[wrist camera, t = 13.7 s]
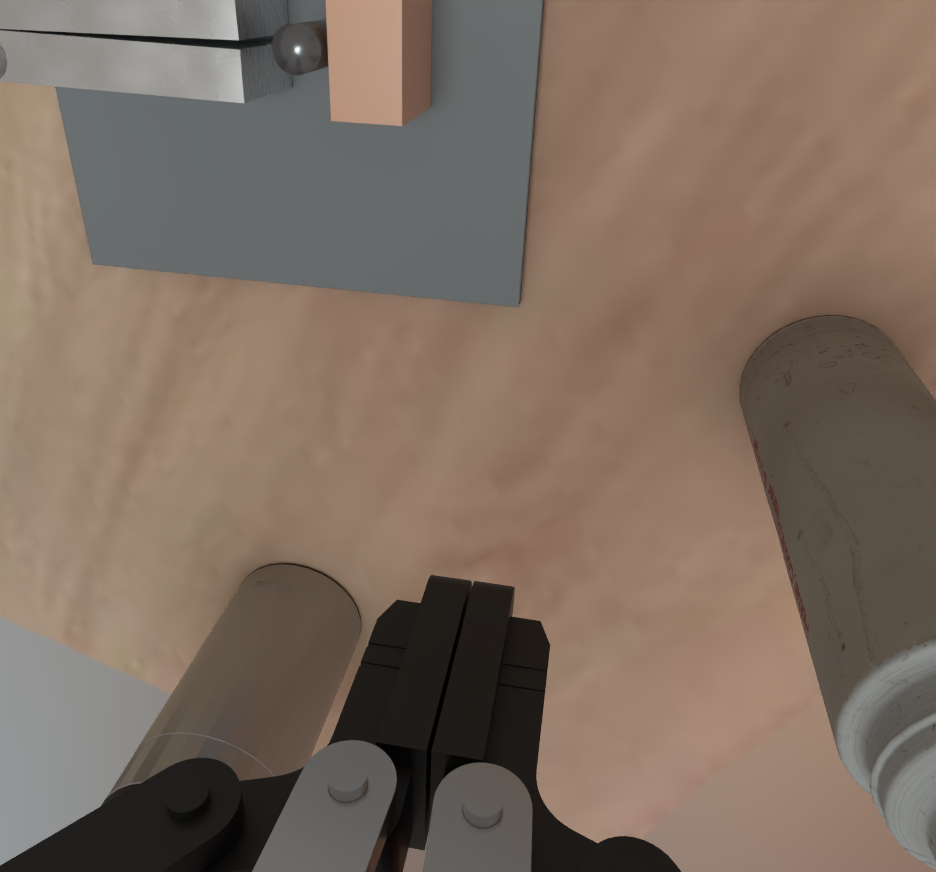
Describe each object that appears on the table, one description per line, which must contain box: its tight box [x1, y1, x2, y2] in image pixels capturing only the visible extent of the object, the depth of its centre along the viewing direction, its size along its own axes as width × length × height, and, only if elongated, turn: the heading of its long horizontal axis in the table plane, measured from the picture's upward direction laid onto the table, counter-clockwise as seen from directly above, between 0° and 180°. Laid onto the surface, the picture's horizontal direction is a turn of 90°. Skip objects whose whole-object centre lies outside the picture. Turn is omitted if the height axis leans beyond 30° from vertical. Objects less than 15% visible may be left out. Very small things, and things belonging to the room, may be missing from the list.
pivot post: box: [272, 19, 329, 75], centre depth 33 cm, size 2×2×6 cm
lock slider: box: [326, 0, 432, 126], centre depth 33 cm, size 3×5×6 cm, turn 178°
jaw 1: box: [0, 0, 288, 40], centre depth 34 cm, size 12×2×6 cm, turn 88°
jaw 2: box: [0, 29, 292, 103], centre depth 35 cm, size 12×2×6 cm, turn 87°
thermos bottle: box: [740, 316, 936, 869], centre depth 29 cm, size 8×8×28 cm
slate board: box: [55, 0, 544, 307], centre depth 37 cm, size 20×24×1 cm
